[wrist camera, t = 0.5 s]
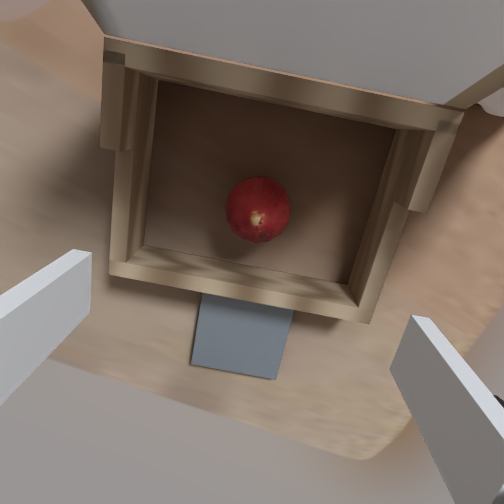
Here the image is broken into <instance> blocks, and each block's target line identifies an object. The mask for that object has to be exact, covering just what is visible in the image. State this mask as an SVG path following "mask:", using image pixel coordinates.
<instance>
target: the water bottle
mask: <svg viewBox="0 0 504 504" xmlns="http://www.w3.org/2000/svg"><path fill="white" fill-rule="evenodd" d="M477 103H478V104H480V105H481V106H482V109H483V110H484V111H486V112H487V113H489V114H492V115H496V116H502V117H504V87H503V88H501V89H500V90H498V91H496V92H494V93H493V94H491V95H489V96H488V97H486V98H484V99H482V100H481V101H479V102H477Z"/></svg>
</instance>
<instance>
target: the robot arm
mask: <svg viewBox="0 0 504 504" xmlns="http://www.w3.org/2000/svg"><path fill="white" fill-rule="evenodd" d="M91 273H92V253H91V252H86V251H81V250H76V249H73V250H71V251H69V252H68V253H66V254H65V255H63V256H61V257H60V258H58V259H57V260H55V261H54V262H52V263H50V264H49V265H47V266H46V267H44V268H43V269H41V270H39V271H38V272H36V273H35V274H33V275H32V276H30V277H28V278H27V279H25V280H24V281H22V282H21V283H19V284H17V285H16V286H14V287H13V288H11V289H10V290H8V291H6V292H5V293H3V294H2V295H0V406H1V405H2V404H3V403H4V402H5V401H6V400H7V399H8V398H9V396H11V394H12V393H13V392H14V391H15V390H16V389H17V388H18V387H19V386H20V385H21V384H22V383H23V382H24V381H25V380H26V379H27V378H28V377H29V376H30V375H31V373H32V372H33V371H34V370H35V369H36V368H37V367H38V366H39V365H40V364H41V363H42V362H43V361H44V360H45V359H46V358H47V357H48V356H49V355H50V354H51V353H52V352H53V351H54V349H55V348H56V347H57V346H58V345H59V344H60V343H61V342H62V341H63V340H64V339H65V338H66V337H67V336H68V335H69V334H70V333H71V332H72V331H73V330H74V329H75V327H76V326H77V325H78V324H79V323H80V322H81V321H82V320H83V319H84V318H85V317H86V316H87V315H88V314H89V313H90V300H91ZM390 371H391V373H392V375H393V377H394V379H395V381H396V384H397V386H398V388H399V390H400V392H401V394H402V396H403V398H404V400H405V402H406V404H407V406H408V408H409V410H410V412H411V414H412V416H413V418H414V420H415V422H416V424H417V426H418V428H419V431H420V433H421V435H422V436H423V439H424V441H425V443H426V445H427V447H428V449H429V451H430V453H431V455H432V457H433V459H434V461H435V463H436V465H437V467H438V469H439V471H440V473H441V475H442V478H443V480H444V482H445V484H446V486H447V488H448V490H449V492H450V494H451V496H452V498H453V500H454V502H455V504H504V401H503V400H502V399H500V398H499V397H498V396H496V395H492V393H490V391H489V390H488V389H487V387H486V386H485V385H484V384H483V383H482V381H481V380H480V379H479V378H478V376H477V375H476V374H475V373H474V372H473V371H472V369H471V368H470V367H469V366H468V364H467V363H466V362H465V361H464V359H463V358H462V357H461V356H460V355H459V353H458V352H457V351H456V350H455V349H454V347H453V346H452V345H451V344H450V342H449V341H448V340H447V339H446V338H445V336H444V335H443V334H442V333H441V332H440V330H439V329H438V328H437V327H436V326H435V324H434V323H433V322H432V321H431V319H430V318H426V317H421V316H416V315H411V317H410V319H409V322H408V324H407V327H406V329H405V332H404V334H403V337H402V339H401V342H400V344H399V347H398V349H397V352H396V354H395V357H394V359H393V362H392V364H391V367H390Z"/></svg>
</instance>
